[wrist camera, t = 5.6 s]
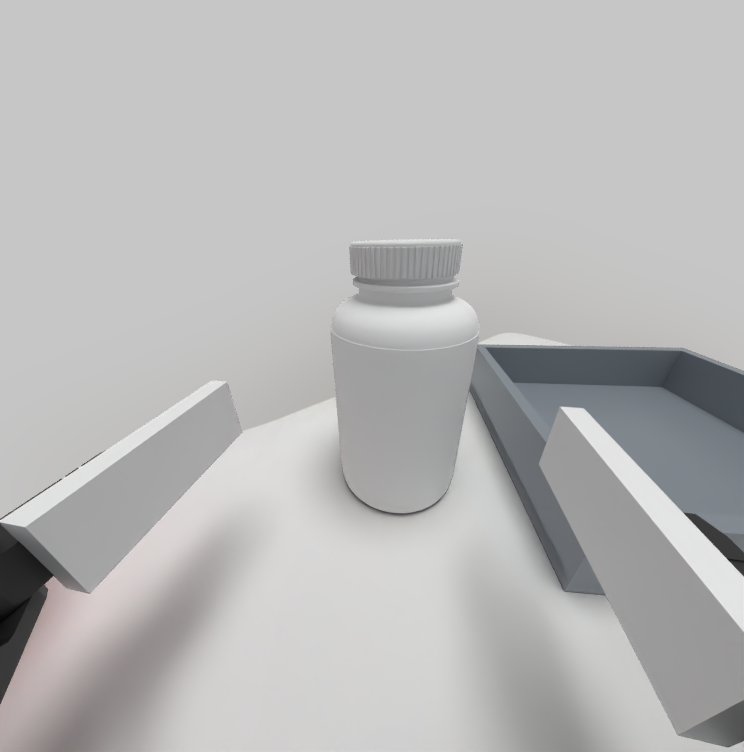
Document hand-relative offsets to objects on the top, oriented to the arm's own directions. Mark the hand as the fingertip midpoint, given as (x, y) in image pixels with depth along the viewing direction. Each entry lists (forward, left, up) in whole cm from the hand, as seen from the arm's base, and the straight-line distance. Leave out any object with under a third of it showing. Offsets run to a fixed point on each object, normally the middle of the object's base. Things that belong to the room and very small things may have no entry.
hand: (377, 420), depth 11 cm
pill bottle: (-1, -6, -9) cm, 10 cm away
